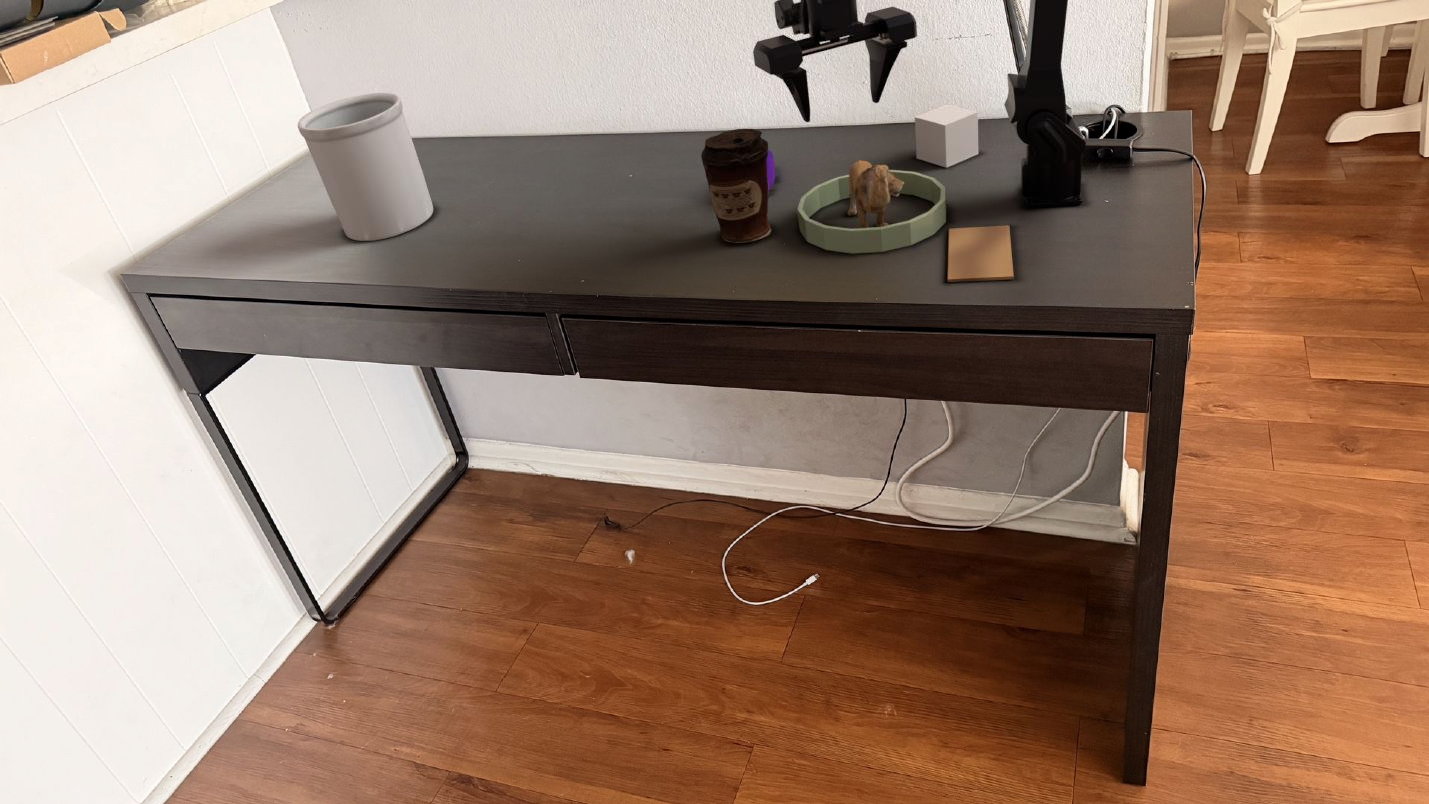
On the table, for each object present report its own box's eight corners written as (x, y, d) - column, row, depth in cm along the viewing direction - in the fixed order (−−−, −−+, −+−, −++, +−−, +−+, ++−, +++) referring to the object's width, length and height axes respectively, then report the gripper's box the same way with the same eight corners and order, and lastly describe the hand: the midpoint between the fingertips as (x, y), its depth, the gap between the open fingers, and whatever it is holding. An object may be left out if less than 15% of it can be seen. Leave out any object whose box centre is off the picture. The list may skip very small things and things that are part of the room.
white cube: (978, 154, 142) (978, 111, 139) (946, 168, 140) (945, 125, 137) (947, 145, 147) (946, 103, 144) (916, 158, 145) (914, 116, 141)
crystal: (783, 136, 149) (761, 165, 137) (786, 169, 151) (765, 201, 139) (751, 138, 151) (727, 167, 138) (754, 171, 153) (731, 202, 140)
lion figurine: (910, 236, 124) (906, 166, 119) (868, 246, 124) (863, 176, 119) (868, 195, 136) (863, 129, 132) (830, 204, 136) (824, 139, 131)
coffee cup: (773, 247, 128) (759, 147, 120) (708, 251, 130) (691, 153, 123) (783, 218, 134) (770, 122, 127) (721, 222, 137) (706, 127, 130)
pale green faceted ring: (947, 187, 135) (946, 165, 133) (945, 248, 120) (944, 225, 119) (810, 196, 139) (807, 175, 138) (792, 256, 125) (789, 234, 123)
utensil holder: (372, 251, 147) (329, 133, 138) (322, 233, 157) (278, 121, 147) (455, 211, 155) (419, 97, 146) (403, 196, 165) (366, 88, 155)
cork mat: (1009, 228, 122) (1009, 225, 122) (1013, 279, 112) (1013, 276, 111) (949, 231, 124) (949, 228, 124) (947, 282, 113) (947, 279, 113)
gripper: (871, -50, 124) (880, 78, 133) (728, -15, 121) (747, 114, 129) (915, -38, 115) (922, 98, 124) (762, 0, 112) (780, 138, 120)
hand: (841, 111), depth 125 cm, fingers open, 9 cm apart
